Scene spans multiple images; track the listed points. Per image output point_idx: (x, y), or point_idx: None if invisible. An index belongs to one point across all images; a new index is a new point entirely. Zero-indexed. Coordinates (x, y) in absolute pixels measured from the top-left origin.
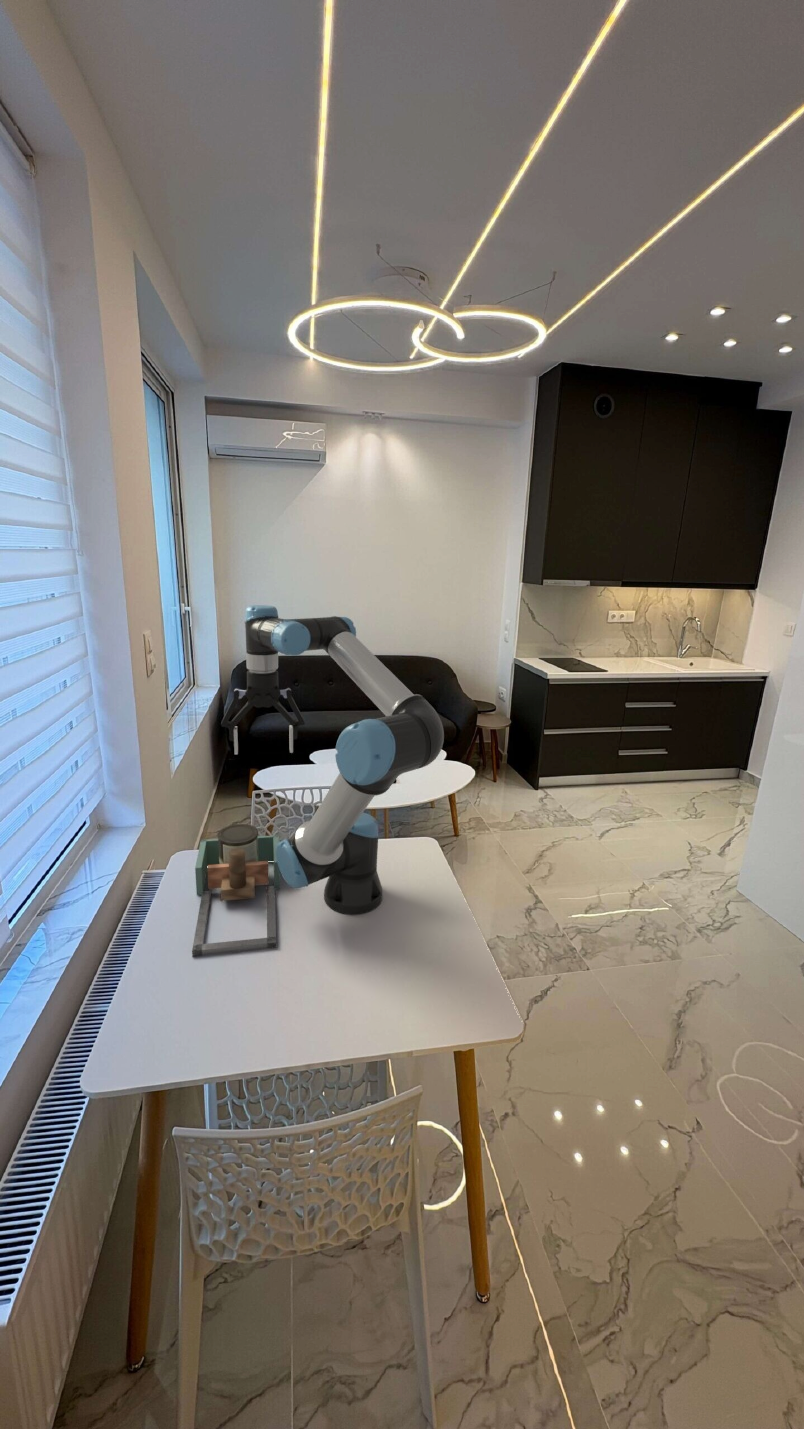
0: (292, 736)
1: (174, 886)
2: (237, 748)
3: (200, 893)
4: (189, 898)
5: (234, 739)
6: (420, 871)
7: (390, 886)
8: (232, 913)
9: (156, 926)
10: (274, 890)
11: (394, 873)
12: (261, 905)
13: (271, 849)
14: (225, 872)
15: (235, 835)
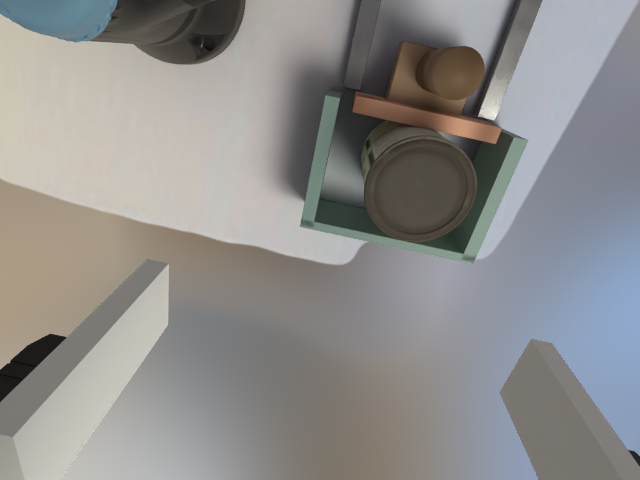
0: (61, 349)
1: (528, 178)
2: (548, 376)
3: None
4: (516, 122)
5: (623, 450)
6: (8, 45)
7: None
8: (451, 25)
9: (614, 35)
10: (347, 66)
11: (70, 59)
12: (384, 35)
13: (320, 210)
14: (456, 116)
15: (429, 182)
